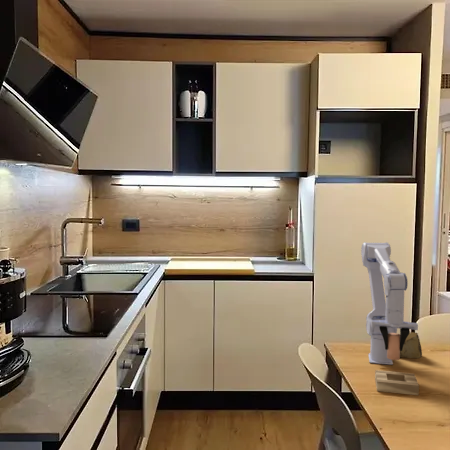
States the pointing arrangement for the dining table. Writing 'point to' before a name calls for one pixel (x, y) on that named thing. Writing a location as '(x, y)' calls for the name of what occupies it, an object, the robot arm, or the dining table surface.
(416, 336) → the rock
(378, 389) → the socket block
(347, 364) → the dining table surface
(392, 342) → the peg
